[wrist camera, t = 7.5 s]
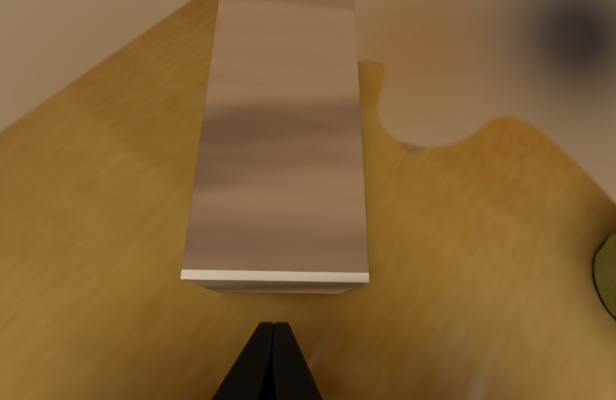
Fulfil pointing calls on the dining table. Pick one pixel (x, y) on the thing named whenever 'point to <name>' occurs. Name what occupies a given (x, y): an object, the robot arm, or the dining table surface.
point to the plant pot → (607, 273)
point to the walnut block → (280, 153)
